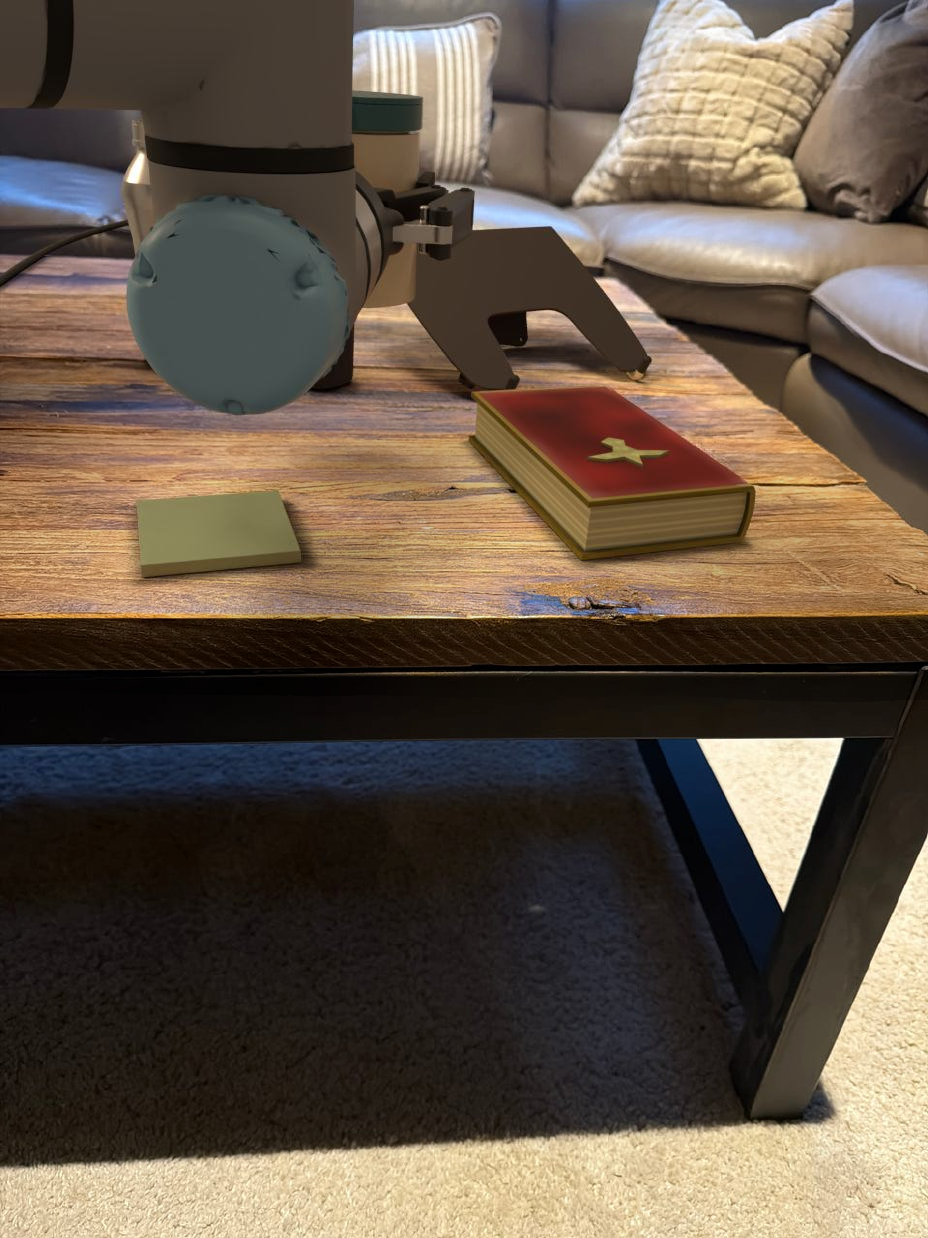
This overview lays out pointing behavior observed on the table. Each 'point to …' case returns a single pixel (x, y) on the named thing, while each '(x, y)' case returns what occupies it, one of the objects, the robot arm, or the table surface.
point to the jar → (395, 168)
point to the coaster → (214, 533)
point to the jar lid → (386, 111)
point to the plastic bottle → (138, 189)
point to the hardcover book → (609, 472)
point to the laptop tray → (514, 303)
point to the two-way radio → (340, 367)
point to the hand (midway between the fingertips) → (365, 189)
